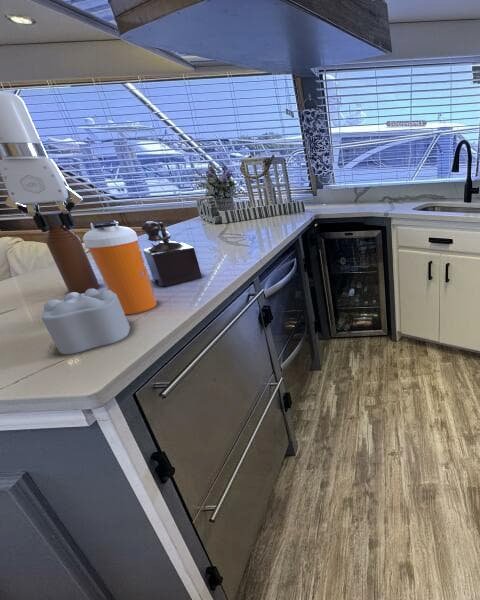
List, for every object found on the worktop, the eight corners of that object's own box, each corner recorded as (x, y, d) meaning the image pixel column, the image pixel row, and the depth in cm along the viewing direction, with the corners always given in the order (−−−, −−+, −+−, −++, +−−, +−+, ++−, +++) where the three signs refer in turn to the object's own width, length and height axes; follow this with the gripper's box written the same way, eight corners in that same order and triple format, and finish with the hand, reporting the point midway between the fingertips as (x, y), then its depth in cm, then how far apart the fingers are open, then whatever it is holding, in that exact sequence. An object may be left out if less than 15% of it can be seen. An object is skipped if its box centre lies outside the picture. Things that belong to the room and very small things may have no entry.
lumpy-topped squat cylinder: (55, 358, 56) (30, 313, 53) (66, 331, 66) (46, 292, 62) (129, 338, 62) (111, 297, 58) (130, 316, 71) (114, 279, 68)
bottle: (65, 295, 86) (29, 219, 78) (73, 288, 91) (40, 216, 83) (96, 290, 88) (64, 216, 81) (102, 283, 94) (73, 213, 86)
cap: (59, 223, 85) (54, 212, 84) (71, 223, 84) (66, 212, 83) (40, 226, 81) (35, 214, 80) (53, 226, 80) (48, 214, 79)
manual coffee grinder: (150, 281, 94) (127, 218, 87) (191, 271, 102) (173, 213, 95) (165, 292, 85) (141, 223, 77) (210, 280, 92) (191, 217, 85)
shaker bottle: (124, 319, 70) (85, 227, 62) (108, 311, 74) (69, 224, 66) (168, 304, 77) (138, 220, 69) (151, 298, 81) (121, 217, 73)
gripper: (-38, 153, 69) (6, 237, 77) (64, 151, 77) (96, 228, 84) (-19, 154, 75) (21, 232, 83) (75, 152, 83) (103, 224, 90)
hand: (58, 229), depth 83 cm, fingers closed on cap, 4 cm apart
